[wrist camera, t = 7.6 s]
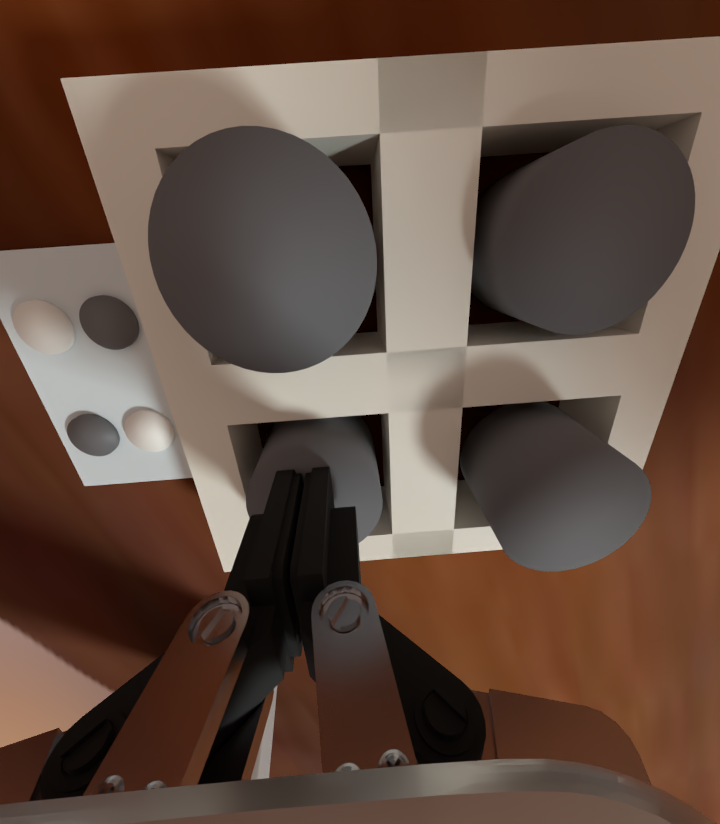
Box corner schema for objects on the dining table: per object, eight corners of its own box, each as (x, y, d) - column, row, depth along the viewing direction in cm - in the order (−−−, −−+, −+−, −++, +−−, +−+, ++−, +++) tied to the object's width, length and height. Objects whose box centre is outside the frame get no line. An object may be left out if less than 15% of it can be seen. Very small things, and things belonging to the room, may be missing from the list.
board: (674, 90, 10) (795, 32, 7) (573, 492, 17) (618, 539, 14) (137, 126, 10) (59, 77, 7) (244, 519, 16) (224, 572, 14)
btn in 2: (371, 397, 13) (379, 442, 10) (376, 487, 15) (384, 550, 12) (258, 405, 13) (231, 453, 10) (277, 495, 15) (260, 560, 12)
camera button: (608, 159, 10) (726, 118, 7) (578, 308, 12) (660, 328, 9) (464, 169, 10) (518, 131, 7) (456, 318, 12) (496, 340, 9)
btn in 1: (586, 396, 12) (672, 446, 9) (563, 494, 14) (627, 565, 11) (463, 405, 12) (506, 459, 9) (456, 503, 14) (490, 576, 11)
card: (138, 242, 11) (123, 241, 10) (207, 468, 15) (200, 479, 14) (-15, 253, 11) (-39, 253, 10) (94, 477, 15) (81, 489, 14)
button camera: (361, 166, 9) (371, 117, 6) (370, 333, 11) (380, 365, 8) (194, 176, 9) (111, 134, 6) (232, 342, 11) (185, 380, 8)
